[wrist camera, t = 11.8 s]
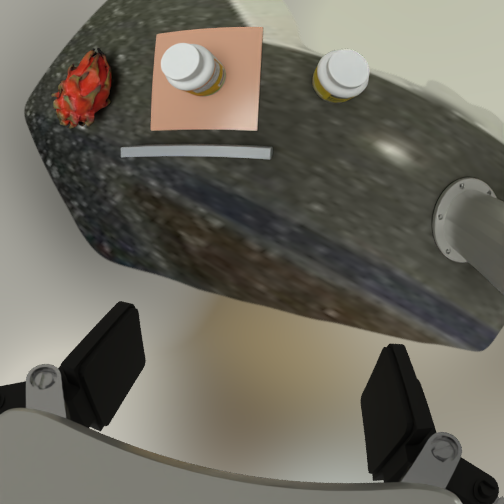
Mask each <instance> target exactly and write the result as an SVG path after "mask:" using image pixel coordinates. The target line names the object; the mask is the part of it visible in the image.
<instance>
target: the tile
mask: <svg viewBox="0 0 504 504" xmlns="http://www.w3.org/2000/svg"><path fill="white" fill-rule="evenodd" d="M262 37H263V27H227V28H208V29H195V30H185V31H177V32H169V33H162V34H157V38H156V48H155V59H154V72H153V87H152V107H151V131H158V130H194V129H214V130H251V131H258V112H259V93H260V74H261V56H262ZM178 43H188V44H197V45H201V46H203V47H205V48H206V49H208V50H209V51H210V52H211V53H212V54H213V55H214V56H215V57H216V58H217V59H218V60H219V61H220V62H221V63H222V65H223V66H224V68H225V71H226V79H225V82H224V84H223V86H222V87H221V89H220V90H219V91H218V92H216V93H214V94H212V95H210V96H204V97H202V96H196V95H193V94H191V93H188V92H185V91H182V90H180V89H177V88H175V87H174V86H172V85H171V84H170V83H169V82H168V80H167V78H166V75H165V74H164V73H163V71H162V69H161V59H162V57H163V55H164V53H165V52H166V50H167V49H169V48H170V47H171V46H173V45H175V44H178Z"/></svg>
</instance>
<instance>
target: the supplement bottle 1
mask: <svg viewBox="0 0 504 504" xmlns="http://www.w3.org/2000/svg"><path fill="white" fill-rule="evenodd" d="M161 69H162V71H163V73H164V74H165V75H166V78H167V80H168V82H169V83H170V84H171V85H172V86H174V87H175V88H177V89H180V90H182V91H185V92H188V93H191V94H193V95H196V96H202V97H204V96H210V95H212V94H214V93H216V92H218V91H219V90H220V89H221V87H222V86H223V84H224V82H225V79H226V71H225V68H224V66H223V65H222V63H221V62H220V61H219V60H218V59H217V58H216V57H215V56H214V55H213V54H212V53H211V52H210V51H209V50H208V49H206V48H205V47H203V46H201V45H197V44H188V43H178V44H175V45H173V46H171V47H170V48H169V49H167V50H166V52H165V53H164V55H163V57H162V59H161Z"/></svg>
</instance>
